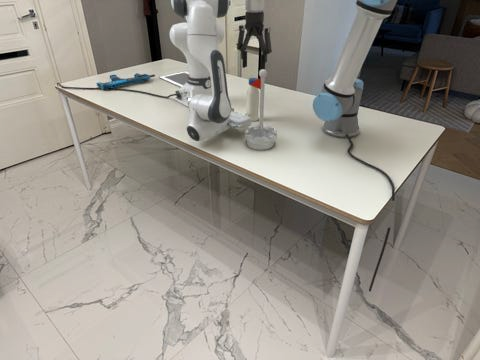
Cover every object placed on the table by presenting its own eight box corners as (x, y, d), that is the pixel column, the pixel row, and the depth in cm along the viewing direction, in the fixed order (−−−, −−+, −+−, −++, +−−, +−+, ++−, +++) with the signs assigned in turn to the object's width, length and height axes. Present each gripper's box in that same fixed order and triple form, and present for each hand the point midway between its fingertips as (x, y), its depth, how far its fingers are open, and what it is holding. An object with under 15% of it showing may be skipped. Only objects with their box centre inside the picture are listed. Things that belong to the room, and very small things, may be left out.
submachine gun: (140, 68, 226) (159, 74, 209) (142, 73, 228) (160, 80, 211) (89, 77, 207) (104, 85, 190) (90, 84, 209) (106, 92, 192)
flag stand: (268, 134, 146) (271, 63, 130) (281, 147, 136) (287, 72, 120) (240, 139, 142) (239, 66, 126) (252, 153, 132) (253, 76, 116)
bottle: (244, 118, 162) (244, 79, 152) (254, 115, 164) (255, 77, 154) (250, 122, 158) (251, 82, 148) (260, 119, 160) (261, 80, 150)
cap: (247, 83, 153) (247, 78, 151) (254, 82, 154) (255, 77, 153) (251, 86, 150) (251, 80, 148) (259, 84, 151) (259, 79, 150)
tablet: (159, 77, 217) (158, 76, 217) (185, 71, 228) (185, 71, 228) (186, 89, 197) (186, 89, 197) (214, 82, 208) (214, 82, 208)
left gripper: (238, 121, 136) (259, 111, 145) (202, 108, 148) (224, 100, 156) (238, 135, 140) (258, 124, 149) (203, 122, 151) (224, 113, 160)
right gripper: (282, 11, 134) (279, 70, 146) (237, 8, 143) (237, 63, 156) (273, 14, 128) (271, 74, 141) (227, 10, 138) (228, 67, 150)
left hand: (241, 112), depth 153 cm, fingers open, 8 cm apart
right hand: (253, 68), depth 148 cm, fingers open, 8 cm apart
